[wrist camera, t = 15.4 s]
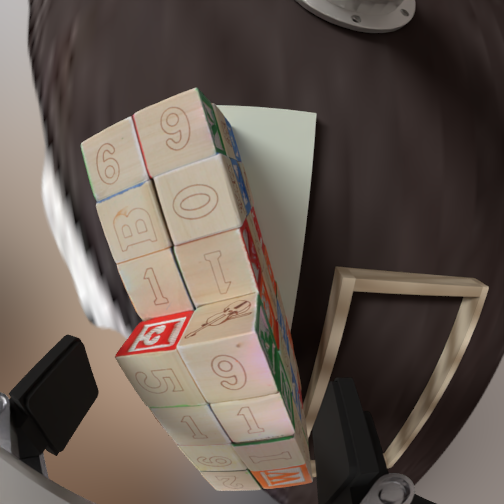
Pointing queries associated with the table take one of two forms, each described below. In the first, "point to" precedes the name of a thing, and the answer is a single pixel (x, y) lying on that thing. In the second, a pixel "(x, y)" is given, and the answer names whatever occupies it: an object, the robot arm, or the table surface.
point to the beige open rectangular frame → (395, 284)
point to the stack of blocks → (200, 294)
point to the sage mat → (278, 184)
